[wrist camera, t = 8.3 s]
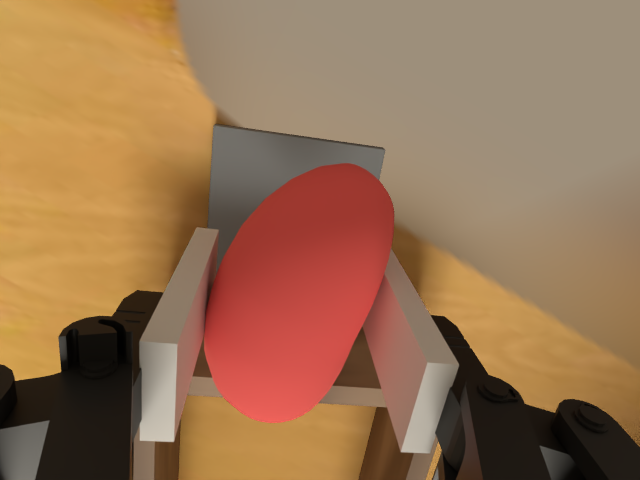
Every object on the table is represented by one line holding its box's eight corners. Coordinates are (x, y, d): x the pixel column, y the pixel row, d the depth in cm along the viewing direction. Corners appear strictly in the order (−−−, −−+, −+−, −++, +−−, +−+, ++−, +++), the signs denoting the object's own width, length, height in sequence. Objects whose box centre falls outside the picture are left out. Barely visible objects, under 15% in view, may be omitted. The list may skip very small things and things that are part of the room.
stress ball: (163, 284, 17) (165, 452, 14) (266, 108, 12) (314, 309, 8) (276, 298, 20) (303, 439, 16) (401, 161, 15) (481, 327, 11)
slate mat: (382, 147, 21) (385, 149, 20) (353, 291, 24) (354, 296, 23) (215, 123, 20) (213, 125, 19) (206, 277, 23) (204, 282, 22)
